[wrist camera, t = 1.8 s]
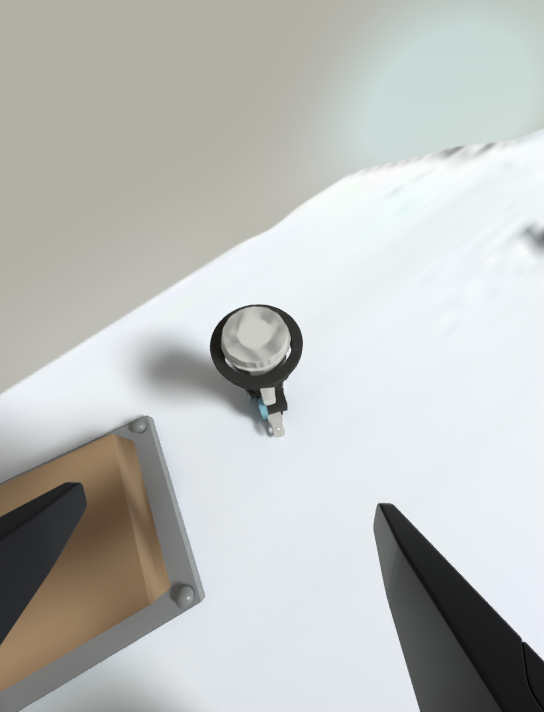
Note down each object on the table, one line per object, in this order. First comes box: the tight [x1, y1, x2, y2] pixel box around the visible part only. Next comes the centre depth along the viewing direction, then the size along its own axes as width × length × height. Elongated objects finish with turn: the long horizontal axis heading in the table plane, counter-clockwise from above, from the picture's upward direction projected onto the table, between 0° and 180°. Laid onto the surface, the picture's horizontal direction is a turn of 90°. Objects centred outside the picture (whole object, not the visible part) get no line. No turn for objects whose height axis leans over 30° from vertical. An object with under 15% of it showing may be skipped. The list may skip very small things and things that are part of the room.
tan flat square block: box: [0, 434, 171, 692], centre depth 17 cm, size 10×10×3 cm
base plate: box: [0, 415, 205, 712], centre depth 19 cm, size 13×13×2 cm
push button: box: [210, 305, 303, 438], centre depth 19 cm, size 7×5×10 cm
